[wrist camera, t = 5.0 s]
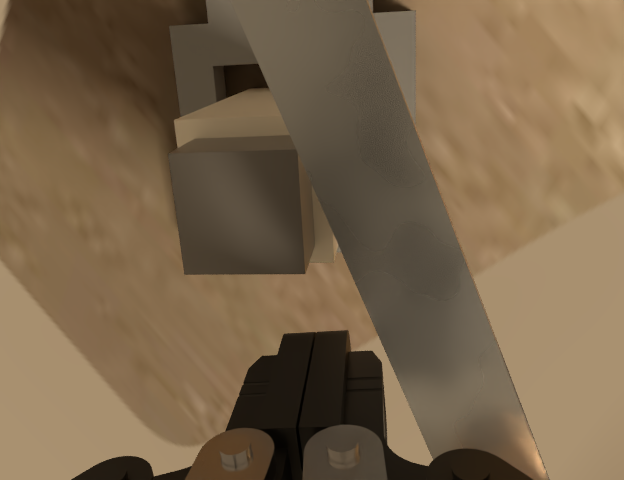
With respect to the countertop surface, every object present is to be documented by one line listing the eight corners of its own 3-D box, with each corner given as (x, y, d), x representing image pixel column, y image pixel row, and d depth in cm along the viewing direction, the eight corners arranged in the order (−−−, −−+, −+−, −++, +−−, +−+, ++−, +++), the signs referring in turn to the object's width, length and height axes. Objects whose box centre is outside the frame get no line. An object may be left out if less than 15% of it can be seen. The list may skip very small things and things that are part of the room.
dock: (149, -252, 20) (-141, -597, 9) (414, -287, 19) (451, -730, 8) (208, 241, 26) (76, 395, 15) (413, 239, 25) (434, 404, 14)
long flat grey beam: (42, -417, 9) (-192, -720, 6) (195, -533, 9) (47, -968, 5) (455, 514, 14) (478, 684, 11) (571, 486, 14) (640, 658, 10)
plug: (250, 88, 24) (143, 132, 13) (349, 83, 23) (318, 125, 13) (258, 185, 25) (167, 292, 15) (352, 182, 24) (327, 293, 14)
